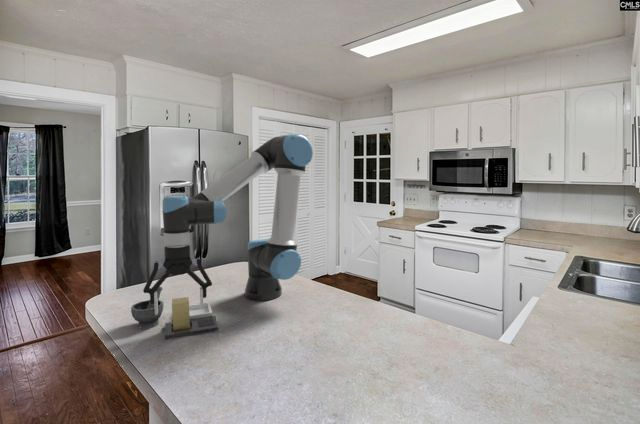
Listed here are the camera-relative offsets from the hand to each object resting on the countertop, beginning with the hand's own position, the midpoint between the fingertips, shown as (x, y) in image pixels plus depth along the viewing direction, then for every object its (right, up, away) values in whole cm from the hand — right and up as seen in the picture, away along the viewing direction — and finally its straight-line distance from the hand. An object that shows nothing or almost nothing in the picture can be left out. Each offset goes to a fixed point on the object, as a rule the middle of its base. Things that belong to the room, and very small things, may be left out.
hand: (179, 310), depth 116 cm
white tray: (+1, -5, +13) cm, 14 cm away
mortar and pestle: (-12, -6, +6) cm, 15 cm away
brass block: (0, -7, +1) cm, 7 cm away
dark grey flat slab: (+3, -7, +2) cm, 8 cm away
